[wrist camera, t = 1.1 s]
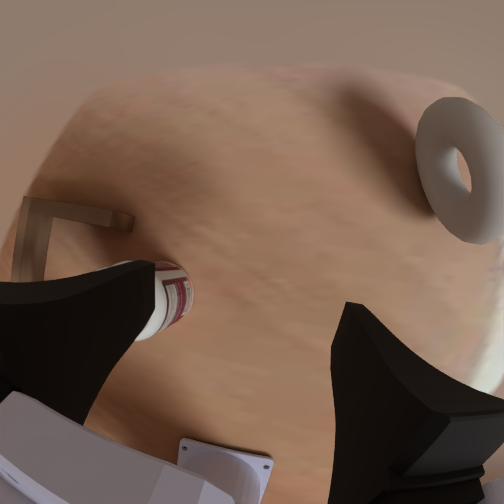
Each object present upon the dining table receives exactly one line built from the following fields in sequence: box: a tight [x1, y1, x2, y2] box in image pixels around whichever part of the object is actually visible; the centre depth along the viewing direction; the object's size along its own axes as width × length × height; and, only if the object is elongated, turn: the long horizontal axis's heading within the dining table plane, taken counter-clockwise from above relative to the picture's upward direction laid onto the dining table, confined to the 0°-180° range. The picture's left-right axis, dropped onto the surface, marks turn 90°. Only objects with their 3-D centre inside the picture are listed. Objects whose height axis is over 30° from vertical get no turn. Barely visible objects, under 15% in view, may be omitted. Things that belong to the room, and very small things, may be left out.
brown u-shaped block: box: [11, 196, 135, 282], centre depth 21 cm, size 10×10×4 cm
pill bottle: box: [93, 260, 194, 341], centre depth 18 cm, size 5×5×8 cm
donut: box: [415, 97, 504, 245], centre depth 16 cm, size 10×4×10 cm, turn 17°
